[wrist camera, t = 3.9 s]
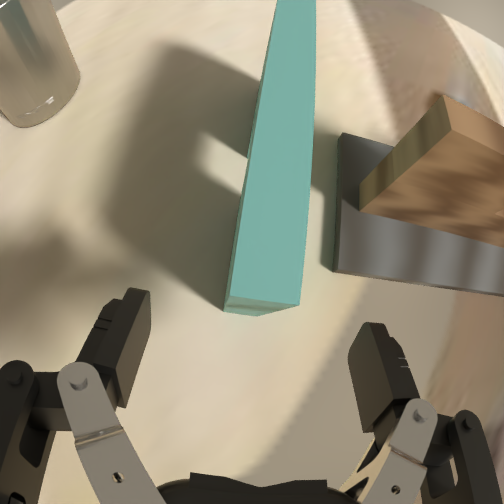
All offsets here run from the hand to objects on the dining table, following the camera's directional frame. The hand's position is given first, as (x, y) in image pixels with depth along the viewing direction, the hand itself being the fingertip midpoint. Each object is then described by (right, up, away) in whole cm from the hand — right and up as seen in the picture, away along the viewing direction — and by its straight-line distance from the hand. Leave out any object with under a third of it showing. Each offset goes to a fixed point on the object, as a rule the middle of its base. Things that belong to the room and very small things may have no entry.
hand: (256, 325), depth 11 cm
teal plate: (0, +8, +13) cm, 16 cm away
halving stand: (+20, +5, +15) cm, 25 cm away
